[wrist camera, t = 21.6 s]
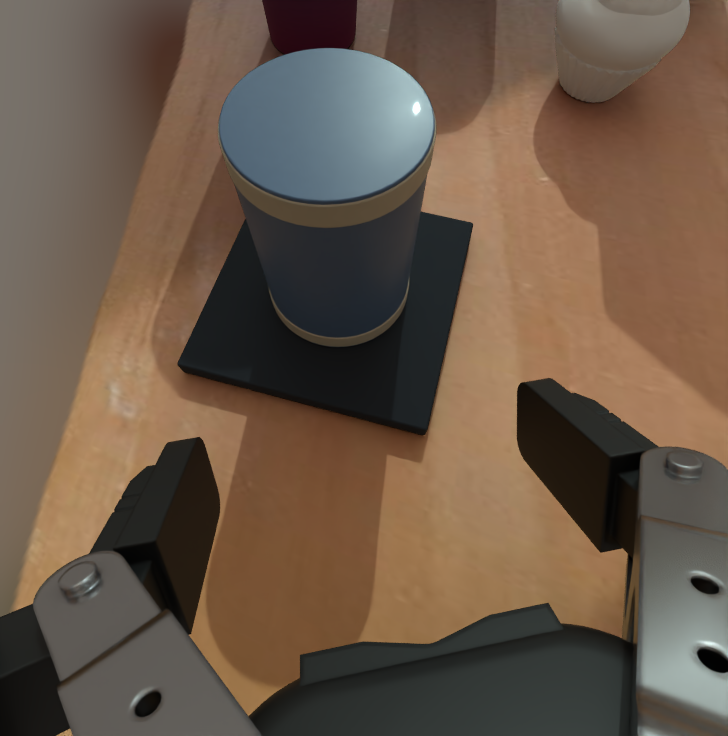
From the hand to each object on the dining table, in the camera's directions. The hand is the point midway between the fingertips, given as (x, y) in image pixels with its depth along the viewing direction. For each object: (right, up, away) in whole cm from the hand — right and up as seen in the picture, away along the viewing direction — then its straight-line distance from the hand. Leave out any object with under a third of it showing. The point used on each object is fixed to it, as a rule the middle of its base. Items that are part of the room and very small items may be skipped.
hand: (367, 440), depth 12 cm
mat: (-1, +5, +8) cm, 10 cm away
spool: (-1, +5, +8) cm, 9 cm away
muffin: (+12, +18, +14) cm, 26 cm away
